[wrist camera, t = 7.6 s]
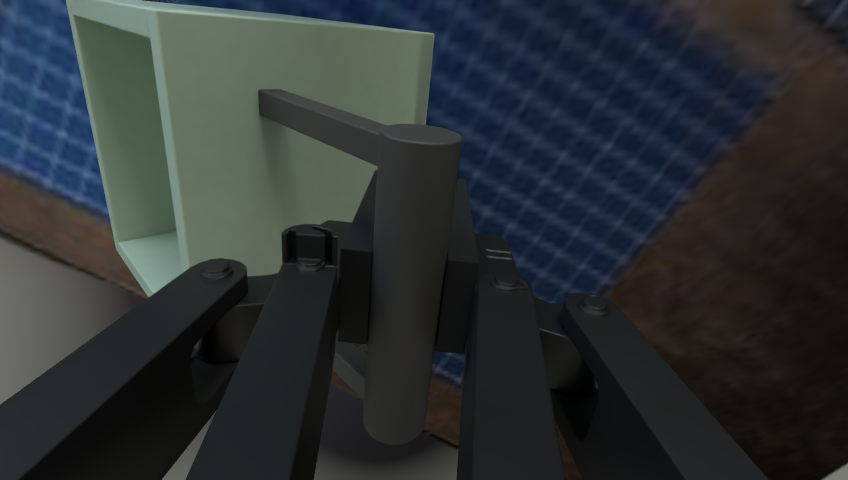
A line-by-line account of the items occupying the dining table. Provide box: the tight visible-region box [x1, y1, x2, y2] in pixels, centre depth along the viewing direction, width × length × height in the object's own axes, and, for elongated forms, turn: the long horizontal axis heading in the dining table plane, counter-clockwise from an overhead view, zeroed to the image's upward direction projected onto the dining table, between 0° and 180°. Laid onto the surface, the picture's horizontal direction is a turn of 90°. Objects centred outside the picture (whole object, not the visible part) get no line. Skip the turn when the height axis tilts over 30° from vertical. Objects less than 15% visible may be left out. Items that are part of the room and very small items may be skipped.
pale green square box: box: [66, 0, 463, 445], centre depth 19 cm, size 20×12×10 cm
